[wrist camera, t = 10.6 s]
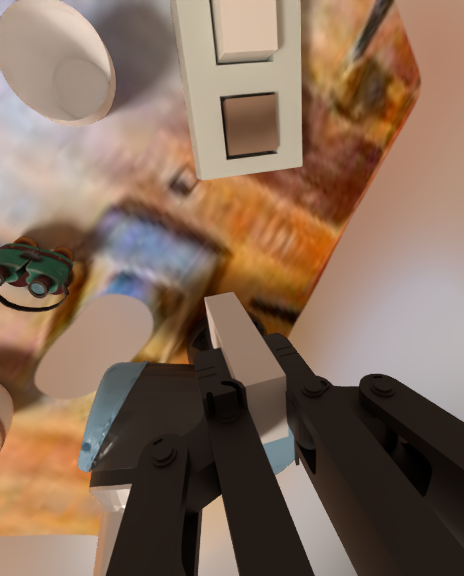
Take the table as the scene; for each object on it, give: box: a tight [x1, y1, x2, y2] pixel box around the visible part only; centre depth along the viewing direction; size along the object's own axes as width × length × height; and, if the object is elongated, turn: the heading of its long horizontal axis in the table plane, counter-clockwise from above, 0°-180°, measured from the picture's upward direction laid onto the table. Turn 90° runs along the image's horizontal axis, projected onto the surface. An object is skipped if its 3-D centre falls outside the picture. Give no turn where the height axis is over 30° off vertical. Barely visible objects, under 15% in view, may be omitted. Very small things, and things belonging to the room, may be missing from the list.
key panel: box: [170, 0, 302, 180], centre depth 36 cm, size 31×14×5 cm, turn 7°
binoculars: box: [0, 237, 73, 312], centre depth 38 cm, size 9×11×10 cm
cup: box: [0, 0, 116, 126], centre depth 31 cm, size 9×9×12 cm
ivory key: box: [211, 0, 278, 64], centre depth 33 cm, size 6×6×4 cm
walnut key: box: [221, 95, 277, 156], centre depth 38 cm, size 6×6×4 cm
